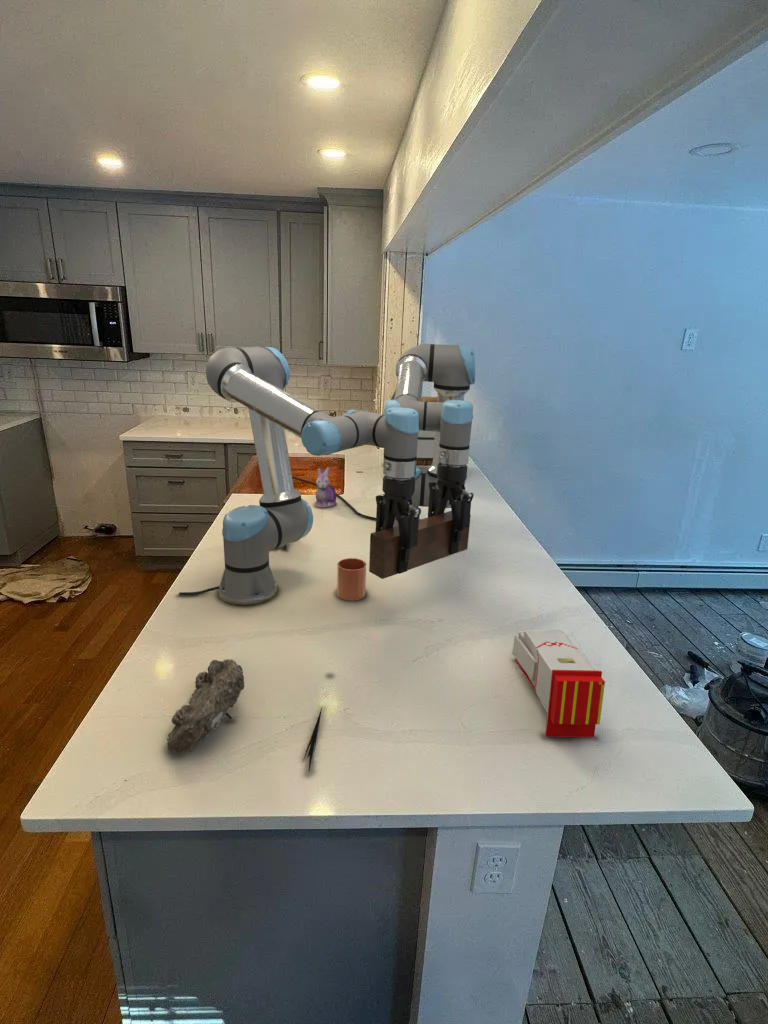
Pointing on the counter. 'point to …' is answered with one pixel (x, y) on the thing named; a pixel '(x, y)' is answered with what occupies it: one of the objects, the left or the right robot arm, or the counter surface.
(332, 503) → the figurine
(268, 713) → the counter surface
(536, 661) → the toy
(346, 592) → the terracotta cup
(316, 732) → the feather
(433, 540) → the walnut box
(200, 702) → the fossil
